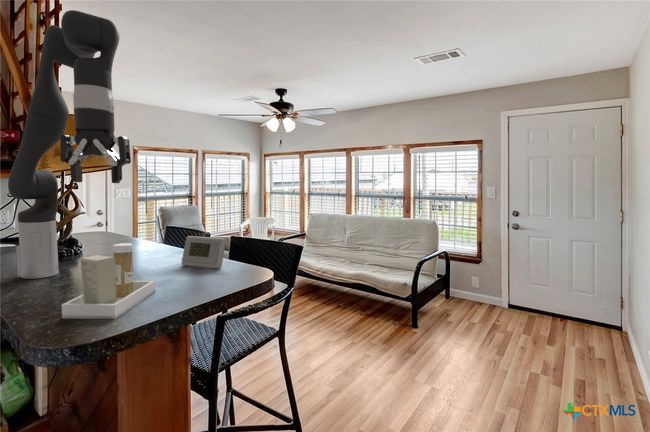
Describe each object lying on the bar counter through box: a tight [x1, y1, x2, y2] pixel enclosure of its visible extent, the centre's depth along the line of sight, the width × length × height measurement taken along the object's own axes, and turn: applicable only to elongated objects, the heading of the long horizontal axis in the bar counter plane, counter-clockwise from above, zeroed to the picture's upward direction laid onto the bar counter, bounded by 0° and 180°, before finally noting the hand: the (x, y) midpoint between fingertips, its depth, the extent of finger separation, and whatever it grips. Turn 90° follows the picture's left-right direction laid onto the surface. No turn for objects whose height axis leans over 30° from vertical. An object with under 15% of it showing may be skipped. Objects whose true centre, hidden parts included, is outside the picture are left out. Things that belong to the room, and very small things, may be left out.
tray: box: [61, 280, 157, 320], centre depth 88 cm, size 12×20×3 cm, turn 1°
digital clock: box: [181, 235, 227, 270], centre depth 129 cm, size 16×9×11 cm, turn 64°
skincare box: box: [80, 254, 117, 304], centre depth 83 cm, size 6×4×12 cm
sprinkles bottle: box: [112, 242, 134, 297], centre depth 93 cm, size 5×5×14 cm
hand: (97, 182), depth 81 cm, fingers open, 8 cm apart
